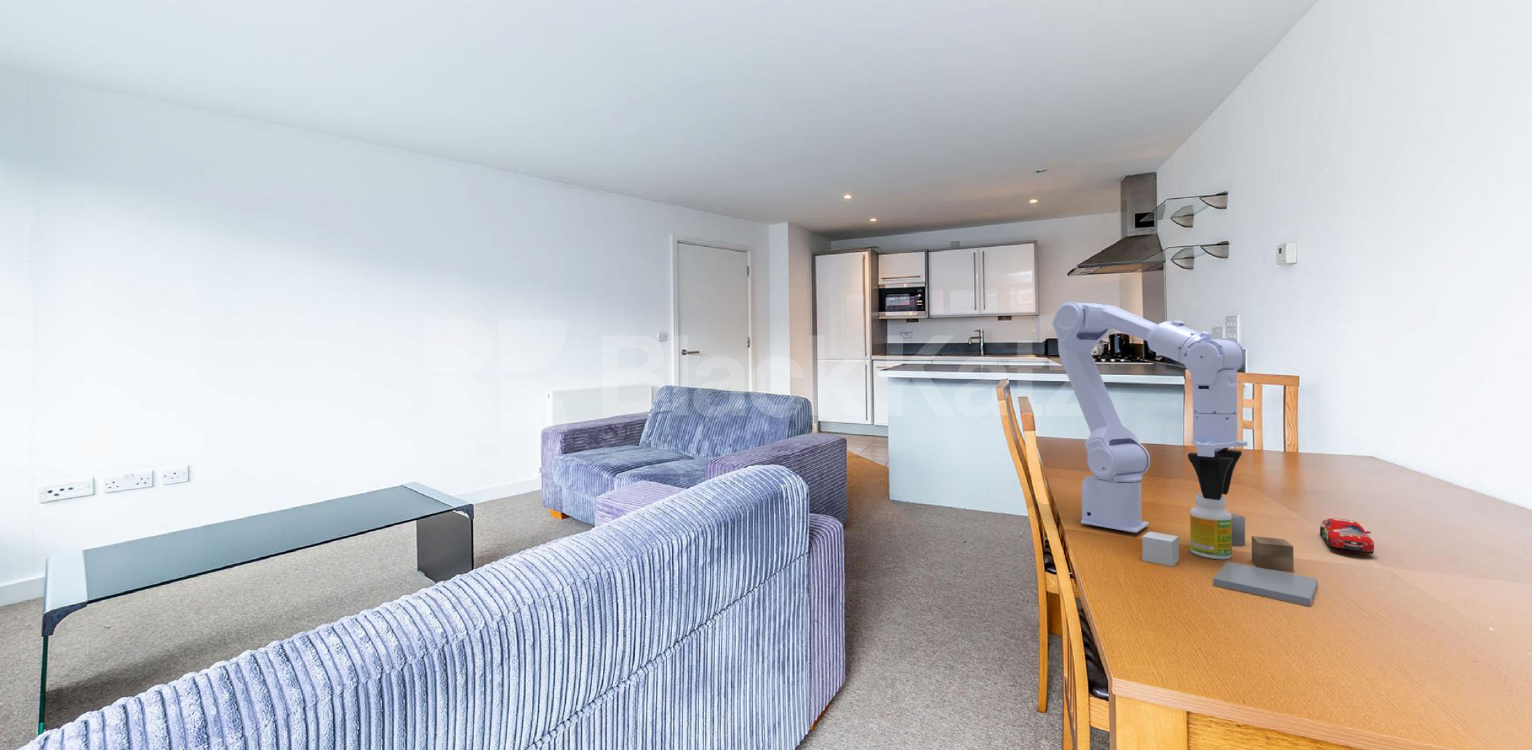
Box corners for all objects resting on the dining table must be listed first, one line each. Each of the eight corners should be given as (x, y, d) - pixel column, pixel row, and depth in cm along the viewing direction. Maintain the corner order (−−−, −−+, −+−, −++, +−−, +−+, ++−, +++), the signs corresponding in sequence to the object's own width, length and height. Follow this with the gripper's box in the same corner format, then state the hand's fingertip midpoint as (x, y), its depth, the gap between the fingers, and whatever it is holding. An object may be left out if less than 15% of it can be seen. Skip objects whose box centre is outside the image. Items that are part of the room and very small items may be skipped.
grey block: (1142, 560, 92) (1142, 536, 92) (1149, 555, 94) (1149, 531, 94) (1172, 567, 89) (1171, 541, 89) (1178, 561, 91) (1178, 536, 91)
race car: (1377, 558, 89) (1377, 532, 89) (1329, 551, 93) (1329, 526, 93) (1361, 540, 99) (1361, 517, 99) (1318, 534, 103) (1318, 512, 103)
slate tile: (1213, 585, 81) (1213, 578, 81) (1227, 567, 88) (1227, 561, 88) (1310, 606, 74) (1310, 598, 74) (1317, 585, 80) (1317, 578, 80)
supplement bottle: (1222, 562, 90) (1222, 501, 90) (1184, 553, 95) (1183, 495, 95) (1238, 556, 93) (1237, 497, 93) (1199, 547, 98) (1199, 491, 98)
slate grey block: (1213, 544, 99) (1213, 515, 99) (1218, 539, 102) (1217, 511, 102) (1242, 549, 96) (1242, 520, 96) (1247, 544, 99) (1246, 515, 99)
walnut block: (1259, 568, 88) (1259, 542, 87) (1251, 560, 91) (1251, 535, 91) (1293, 572, 86) (1293, 546, 86) (1284, 564, 89) (1284, 539, 89)
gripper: (1238, 416, 85) (1239, 507, 85) (1254, 411, 94) (1255, 492, 95) (1180, 414, 90) (1181, 500, 90) (1201, 409, 100) (1202, 486, 100)
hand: (1215, 496), depth 93 cm, fingers open, 5 cm apart
